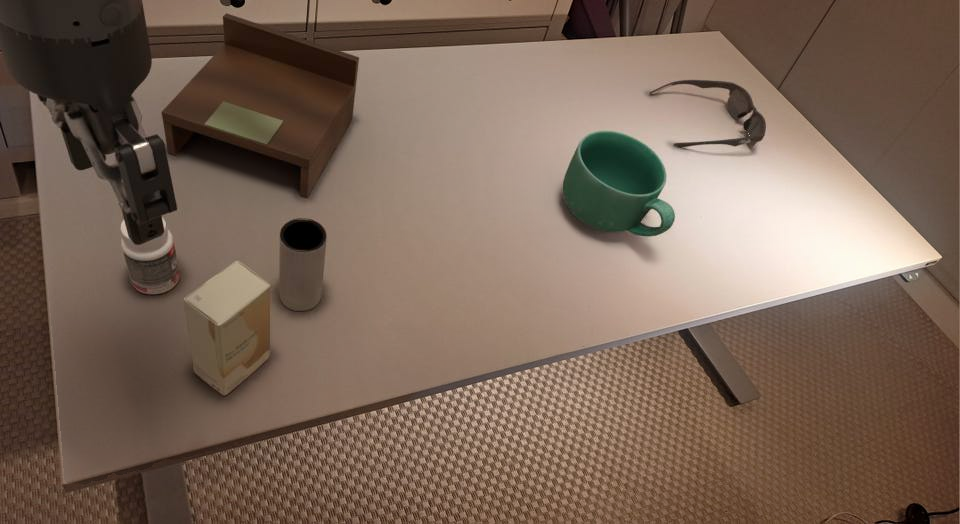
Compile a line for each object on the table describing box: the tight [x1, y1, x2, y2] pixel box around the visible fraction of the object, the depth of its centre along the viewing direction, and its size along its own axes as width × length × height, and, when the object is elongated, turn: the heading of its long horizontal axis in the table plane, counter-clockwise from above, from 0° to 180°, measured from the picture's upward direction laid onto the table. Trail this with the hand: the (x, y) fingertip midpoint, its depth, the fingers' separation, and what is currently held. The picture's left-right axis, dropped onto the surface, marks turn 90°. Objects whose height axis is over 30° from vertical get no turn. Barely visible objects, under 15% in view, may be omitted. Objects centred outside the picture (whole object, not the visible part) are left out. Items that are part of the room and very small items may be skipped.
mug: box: [562, 130, 676, 238], centre depth 89 cm, size 17×13×10 cm
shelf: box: [161, 12, 360, 199], centre depth 84 cm, size 17×18×10 cm
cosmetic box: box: [183, 260, 271, 396], centre depth 61 cm, size 6×4×12 cm
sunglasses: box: [649, 79, 767, 149], centre depth 113 cm, size 16×17×5 cm
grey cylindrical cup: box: [278, 217, 328, 312], centre depth 69 cm, size 4×4×10 cm
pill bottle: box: [120, 216, 181, 295], centre depth 67 cm, size 5×5×8 cm
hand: (118, 200), depth 48 cm, fingers open, 8 cm apart
